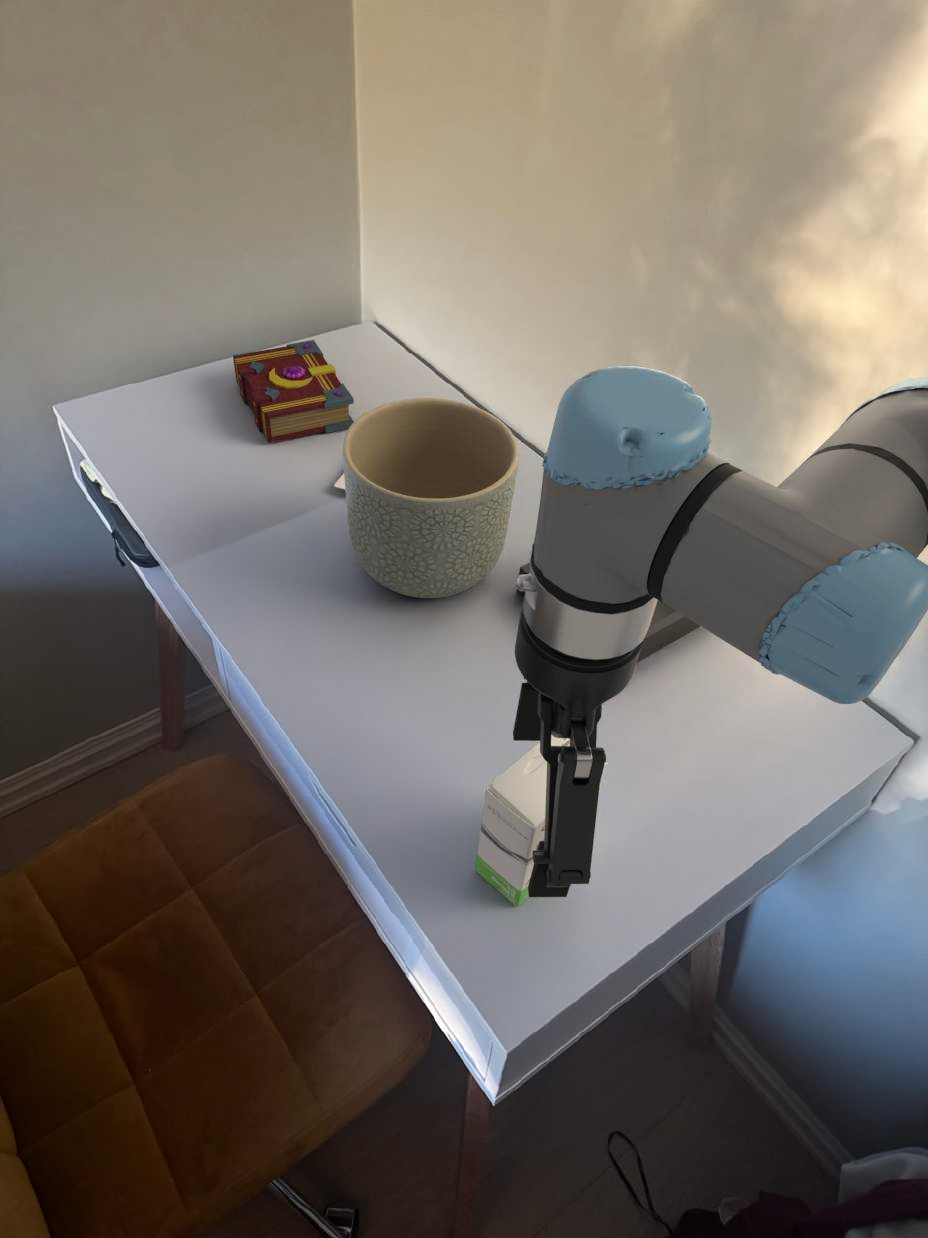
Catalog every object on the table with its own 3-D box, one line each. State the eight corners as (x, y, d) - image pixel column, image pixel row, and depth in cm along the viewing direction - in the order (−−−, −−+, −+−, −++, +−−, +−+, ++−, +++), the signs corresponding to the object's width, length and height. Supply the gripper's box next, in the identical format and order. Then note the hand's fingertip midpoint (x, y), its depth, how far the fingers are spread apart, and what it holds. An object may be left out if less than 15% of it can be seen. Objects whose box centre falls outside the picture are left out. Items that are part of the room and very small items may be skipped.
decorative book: (267, 447, 110) (263, 412, 107) (231, 380, 120) (227, 346, 117) (355, 429, 114) (354, 394, 111) (313, 365, 124) (311, 331, 120)
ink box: (516, 910, 71) (534, 831, 62) (471, 868, 73) (482, 786, 64) (586, 843, 75) (611, 761, 67) (541, 805, 77) (560, 721, 69)
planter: (352, 511, 103) (348, 393, 92) (500, 515, 104) (513, 400, 93) (342, 618, 91) (335, 498, 80) (508, 622, 92) (525, 504, 81)
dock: (710, 620, 94) (719, 596, 92) (609, 679, 88) (615, 655, 85) (616, 542, 102) (622, 518, 100) (516, 591, 96) (519, 566, 93)
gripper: (505, 486, 62) (480, 682, 78) (542, 799, 45) (500, 972, 60) (612, 489, 63) (566, 683, 78) (689, 799, 46) (610, 970, 61)
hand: (537, 809), depth 69 cm, fingers open, 13 cm apart
